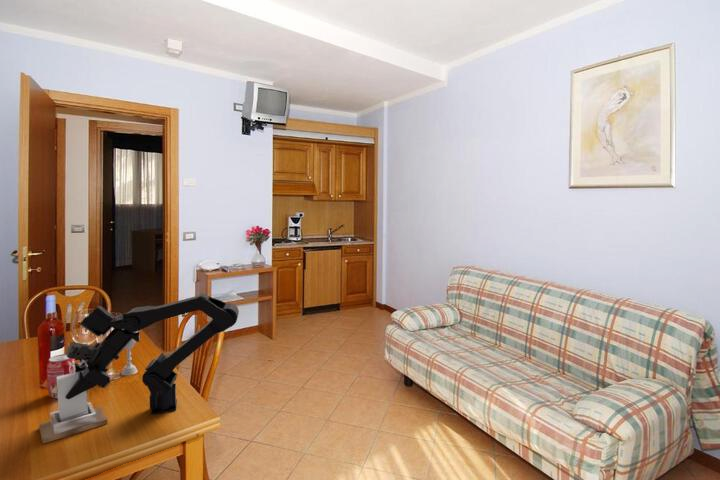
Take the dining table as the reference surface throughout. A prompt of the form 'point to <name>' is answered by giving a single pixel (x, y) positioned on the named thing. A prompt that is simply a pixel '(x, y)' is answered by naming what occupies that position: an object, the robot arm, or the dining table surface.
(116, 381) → the dining table surface
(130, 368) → the chalice
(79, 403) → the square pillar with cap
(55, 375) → the soda can
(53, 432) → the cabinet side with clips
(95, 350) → the robot arm
